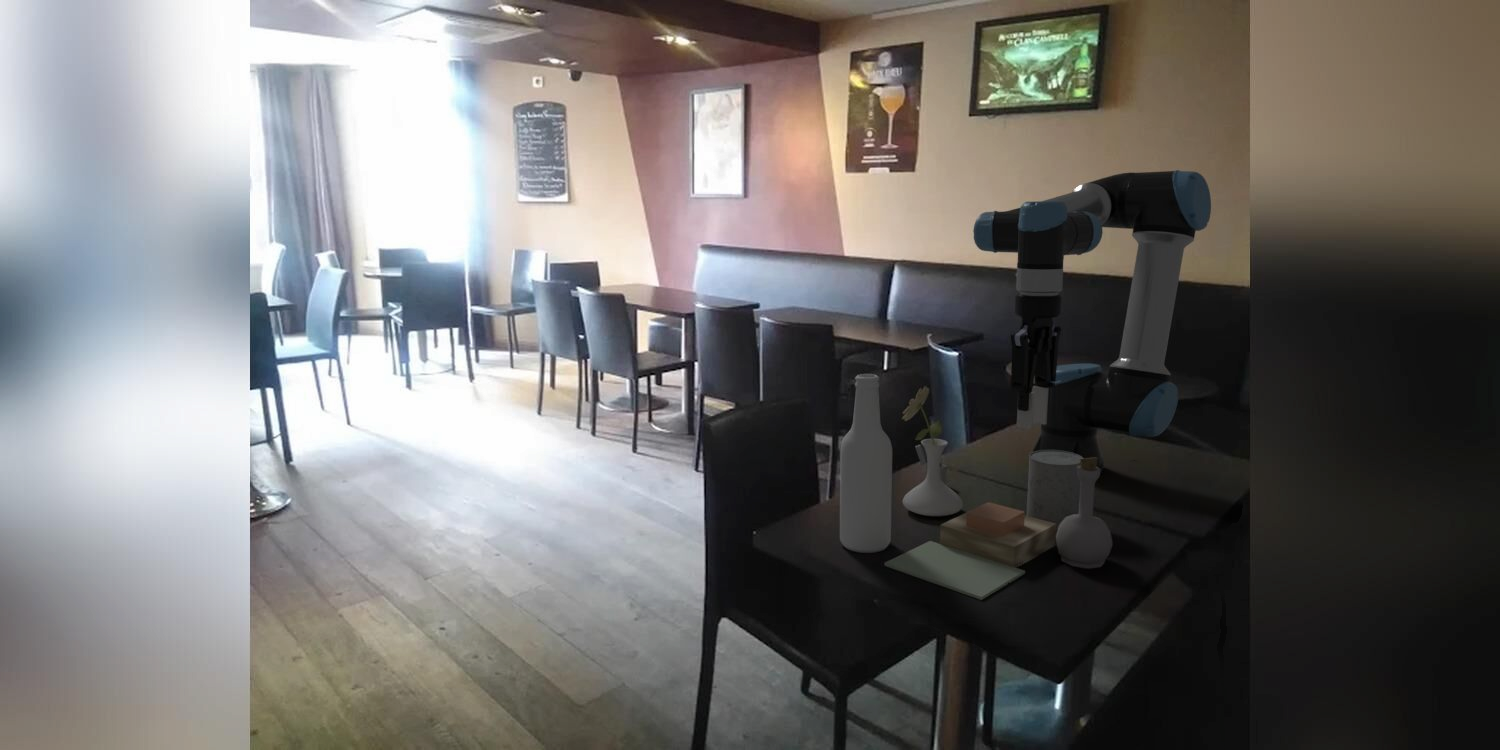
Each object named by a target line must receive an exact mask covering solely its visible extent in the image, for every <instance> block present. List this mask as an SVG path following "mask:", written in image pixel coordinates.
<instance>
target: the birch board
mask: <svg viewBox="0 0 1500 750" xmlns="http://www.w3.org/2000/svg"><path fill="white" fill-rule="evenodd" d="M966 516H967V512H965V513H962V514H961V515H959V516H956V517H954V518H951V519H949V520H947V521H946V522H944V523H941V524H940V528H939V531H940V532H939V544H942V545H945V546H948V547H951V548H954V549H957V550H961V551H964V552H967V553H970V554H973V555H976V556H980V557H983V558H986V559H989V560H992V561H995V562H999V563H1002V564H1005V565H1008V566H1011V567H1014V568H1017V567H1018V568H1019V566H1020V567H1022V564H1023V565H1024V563H1025V564H1026V563H1028V562H1029V561H1031V560H1034V559H1035V558H1037V557H1038V556H1040V555H1041V554H1043V553H1045V552H1046V551H1048V550H1050V549H1052V548H1054V547H1055V546H1056V533H1057V530H1056V524H1055V523H1051V522H1047V521H1044V520H1040V519H1036V518H1032V517H1029V516H1026V515H1025V520H1024V526H1023V527H1021V528H1019V529H1017V530H1015V531H1013V532H1011V533H1009V534H1007V535H1006V536H1004V537H1002V536H998V535H995V534H991V533H988V532H985V531H981V530H978V529H974V528H971V527H967V526H966Z"/></svg>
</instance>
